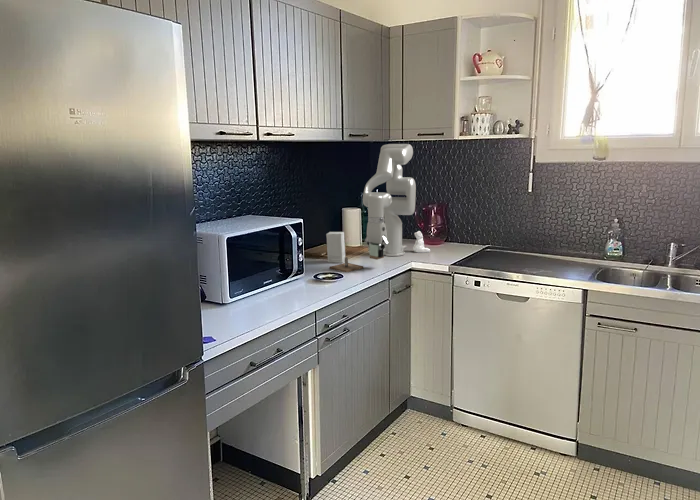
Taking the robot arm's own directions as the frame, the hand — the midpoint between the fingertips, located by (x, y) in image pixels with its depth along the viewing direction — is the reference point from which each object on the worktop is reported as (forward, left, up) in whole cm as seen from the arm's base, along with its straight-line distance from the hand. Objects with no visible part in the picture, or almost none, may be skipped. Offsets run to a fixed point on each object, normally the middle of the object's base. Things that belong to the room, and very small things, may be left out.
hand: (376, 255), depth 265 cm
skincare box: (+4, -26, -6) cm, 27 cm away
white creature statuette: (-45, -9, -6) cm, 47 cm away
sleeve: (0, 0, -1) cm, 1 cm away
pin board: (+11, -11, -6) cm, 16 cm away
